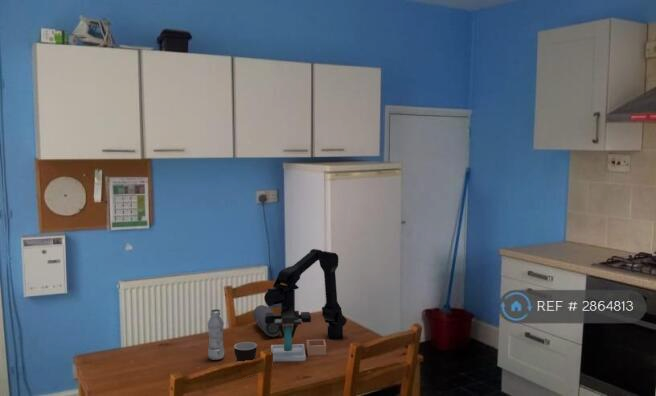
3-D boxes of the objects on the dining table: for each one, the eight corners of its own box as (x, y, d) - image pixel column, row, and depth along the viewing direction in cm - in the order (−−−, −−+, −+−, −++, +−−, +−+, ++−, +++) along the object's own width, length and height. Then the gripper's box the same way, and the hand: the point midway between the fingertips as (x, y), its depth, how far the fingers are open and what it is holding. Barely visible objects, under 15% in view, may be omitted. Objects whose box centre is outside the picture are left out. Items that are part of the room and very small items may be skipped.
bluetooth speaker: (251, 325, 262) (251, 304, 261) (270, 323, 266) (270, 303, 265) (263, 340, 241) (263, 318, 240) (283, 338, 244) (283, 316, 244)
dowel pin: (291, 348, 226) (291, 324, 225) (292, 351, 223) (292, 327, 222) (283, 348, 226) (283, 324, 225) (283, 351, 222) (283, 327, 221)
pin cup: (324, 348, 232) (324, 339, 231) (326, 355, 224) (326, 345, 224) (306, 349, 231) (306, 339, 231) (307, 355, 223) (307, 346, 223)
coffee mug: (252, 376, 202) (252, 350, 202) (230, 374, 204) (230, 349, 203) (262, 364, 214) (262, 340, 213) (241, 363, 216) (241, 338, 215)
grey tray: (303, 348, 232) (303, 344, 232) (305, 360, 218) (305, 356, 218) (271, 349, 231) (270, 345, 230) (270, 361, 217) (270, 357, 217)
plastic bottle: (227, 356, 222) (226, 309, 220) (218, 363, 215) (218, 313, 214) (213, 354, 224) (212, 307, 222) (204, 360, 218) (203, 312, 216)
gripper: (264, 307, 213) (264, 345, 215) (311, 305, 215) (311, 344, 217) (265, 299, 225) (265, 336, 226) (310, 298, 226) (310, 334, 228)
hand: (287, 337), depth 224 cm, fingers closed on dowel pin, 3 cm apart
